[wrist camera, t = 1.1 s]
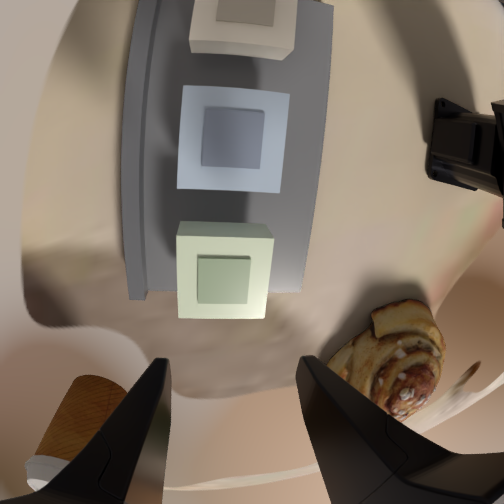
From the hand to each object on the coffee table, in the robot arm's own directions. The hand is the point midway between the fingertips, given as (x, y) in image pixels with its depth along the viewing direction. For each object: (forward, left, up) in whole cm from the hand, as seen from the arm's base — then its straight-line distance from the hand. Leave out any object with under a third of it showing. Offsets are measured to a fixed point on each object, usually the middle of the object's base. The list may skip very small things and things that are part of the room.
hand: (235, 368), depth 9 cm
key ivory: (0, -13, -8) cm, 15 cm away
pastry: (-16, +13, -12) cm, 23 cm away
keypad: (0, -6, -11) cm, 13 cm away
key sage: (0, 0, -8) cm, 8 cm away
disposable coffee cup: (+11, +16, -11) cm, 22 cm away
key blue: (0, -6, -8) cm, 10 cm away
